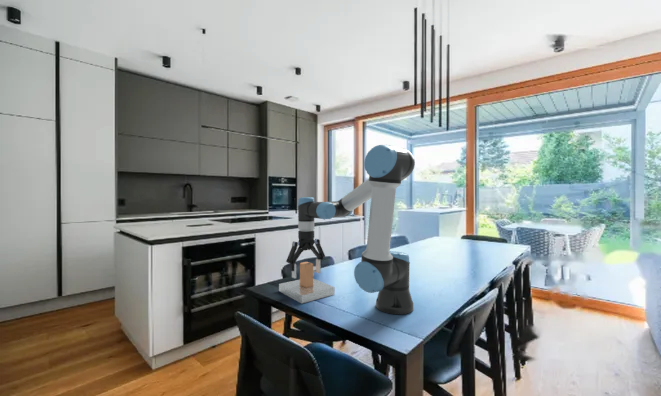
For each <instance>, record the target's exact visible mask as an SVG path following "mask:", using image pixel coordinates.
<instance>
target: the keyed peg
mask: <svg viewBox="0 0 661 396" xmlns="http://www.w3.org/2000/svg"><path fill="white" fill-rule="evenodd" d="M313 266H314V262H313V263H312V262H310V261H309V262H308V261H303V262H300V263H299V280H300V286H302V287H304V288H308V287H312V286H313V279H314V276H313Z"/></svg>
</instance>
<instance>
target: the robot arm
mask: <svg viewBox="0 0 661 396" xmlns="http://www.w3.org/2000/svg"><path fill="white" fill-rule="evenodd" d="M363 163H364V165H363V166H364V171H366V174H367V175H368V179H366V180H365V181H363V182H362V183H360V184H359V185H358V186H357V187H355V188H354V189H352V190H351V191H350V192H348V193H347V194H346V195H344V196H343V197H342V198H339V200H336V201H315V197H311V196H310V197H309V196H306V197H305V196H303V197H298V202H297V203H298V204H297V214H298V215H297V218H298V219H297V220H298V221H297V222H298V223H297V224H298V227H297V228H298V232H297V233H298V234H297V235H298V236H297V237H298V241H292V243H291V245H292V246H291V248H290V251H289V253H288V256H287V258H286V261H285V263H287V264H290V265H289V266H290V269H289V270H290V271H291V278H292V279H297V260H298V259H299V257H300V256H301V254H302V253H303V252H304V251H311V252H312V253H313V254H314V256H315V257H316V258H315V266H316V272H315V273H318V274H321V272H322V271H321V266H322V260H323V259H324V258H325V257H326V254H325V252H324V250H323V247H322V245H321V240H320V239H318V238H315V219H320V220H331V219H334V218H346V217H349V216H351V215H352V213H353V211H354V210H355V209H357V208H358V207H360V206H362V205H363V204H364V203H366V202H368V201H369V200H370V208H369V209H370V210H369V219H368V228H367V229H368V231H367V240H366V249H365V250H363V251H362V253H361V259H360V262H358V264H356V265H355V267H354V271H353V275H354V280H355V282H356V284H357V285H358V286H359V288H360V289H361V290H363V292H366V293H369V294H371V293H372V294H374V293H377V292H378V293H377V297H376V301H375V308H376V309H377V310H378V311H381V312H383V313H386V314H389V315H390V314H391V315H406V314H411V313H412V312H413V311H414V302H413V301H414V300H413V299H412V295H411V294H412V293H411V292H410V264H411V262H410V256H409V254H408V253H405V252H402V251H396V250H391V239H392V233H393V232H392V229H393V221H394V209H395V202H396V201H395V200H396V193H397V188H398V187H399V186H401V185H402V181H404V180H405V179H407V178H408V177H409V176H411V174H412V173H413V172H414V169H415V163H416V162H415V158H414V155H413V154H412V153H411V151H410V150H408V149H406V148H403V147H398V146H393V145H390V144H378V145H375V146H373V147H372V148H371V149H370V150H369V151H368V152H367V153H366V155H365V158H364V161H363ZM314 244H315V246H314Z"/></svg>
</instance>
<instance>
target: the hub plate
mask: <svg viewBox="0 0 661 396" xmlns="http://www.w3.org/2000/svg"><path fill="white" fill-rule="evenodd" d="M335 289H336V288H335V286H333V285H331V284H328V283H326V282H323V281H320V280H319V279H315V278H313V286H312V287H308V288H304V287H302V286H300V279H295V280H292V281H287V282H282V283H279V284H278V291H279V292H280V293H282V294H283V295H285V296H287V297H288V298H290V299H293V300H294V301H297V303H300V304H301V305H302V304H305V303H309V302H313V301H316V300H320V299H325V298H327V297H331V296H334V295H336V293H335Z"/></svg>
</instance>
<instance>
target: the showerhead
mask: <svg viewBox="0 0 661 396" xmlns="http://www.w3.org/2000/svg"><path fill="white" fill-rule="evenodd" d="M315 273H317V272H316V265H313V277H314V276H315Z"/></svg>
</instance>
